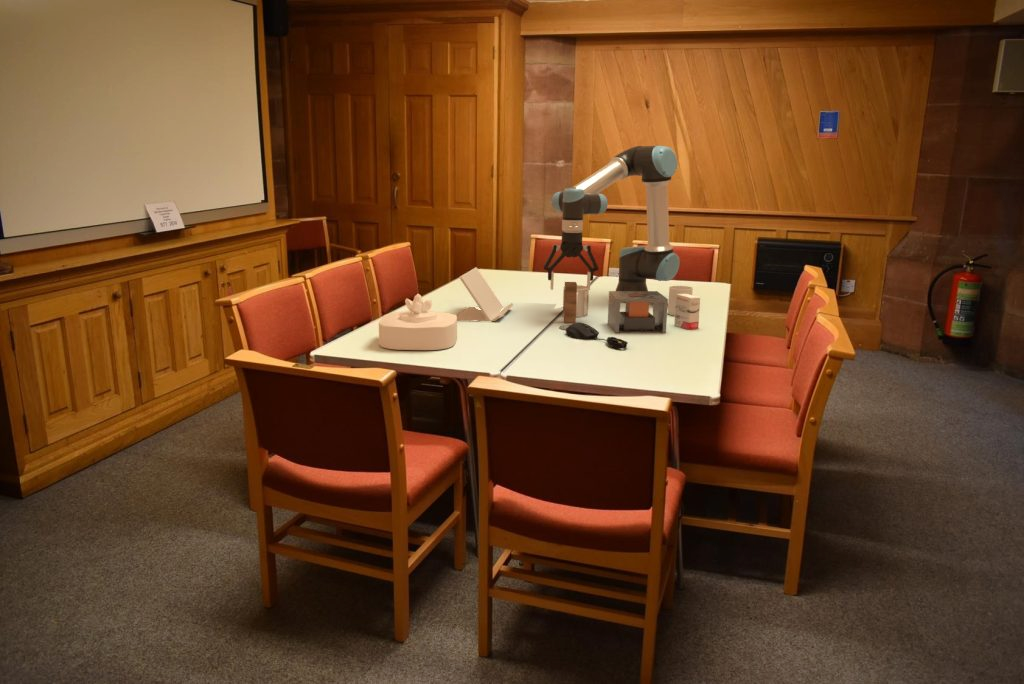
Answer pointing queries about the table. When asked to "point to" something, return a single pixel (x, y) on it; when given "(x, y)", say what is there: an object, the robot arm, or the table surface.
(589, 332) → the computer mouse
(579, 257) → the robot arm
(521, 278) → the table surface
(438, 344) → the pink flower lid box
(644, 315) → the breaker button
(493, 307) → the tablet stand
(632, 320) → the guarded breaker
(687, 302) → the ink box
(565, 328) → the coaster
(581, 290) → the mug
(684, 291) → the mug
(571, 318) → the walnut block
